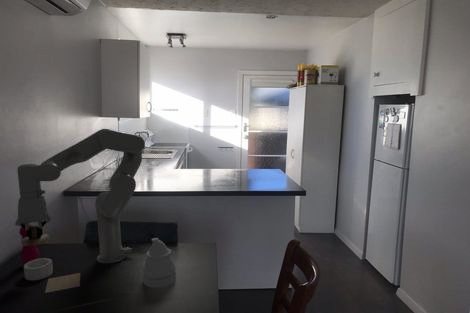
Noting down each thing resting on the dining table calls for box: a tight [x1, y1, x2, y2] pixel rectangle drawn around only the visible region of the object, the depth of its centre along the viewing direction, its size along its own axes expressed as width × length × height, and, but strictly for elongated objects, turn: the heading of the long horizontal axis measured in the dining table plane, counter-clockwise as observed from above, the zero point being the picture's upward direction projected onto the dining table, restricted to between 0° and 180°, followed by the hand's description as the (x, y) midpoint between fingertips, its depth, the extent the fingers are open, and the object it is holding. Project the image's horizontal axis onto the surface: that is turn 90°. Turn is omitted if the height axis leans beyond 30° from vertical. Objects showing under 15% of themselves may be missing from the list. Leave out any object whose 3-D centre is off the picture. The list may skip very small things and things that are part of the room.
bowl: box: [23, 257, 54, 281], centre depth 145 cm, size 10×10×6 cm
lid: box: [20, 225, 50, 246], centre depth 143 cm, size 10×10×6 cm
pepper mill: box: [19, 224, 40, 268], centre depth 155 cm, size 7×7×20 cm
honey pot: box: [142, 237, 177, 289], centre depth 139 cm, size 13×13×18 cm
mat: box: [44, 272, 81, 294], centre depth 139 cm, size 12×12×1 cm
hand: (35, 237), depth 143 cm, fingers closed on lid, 2 cm apart
